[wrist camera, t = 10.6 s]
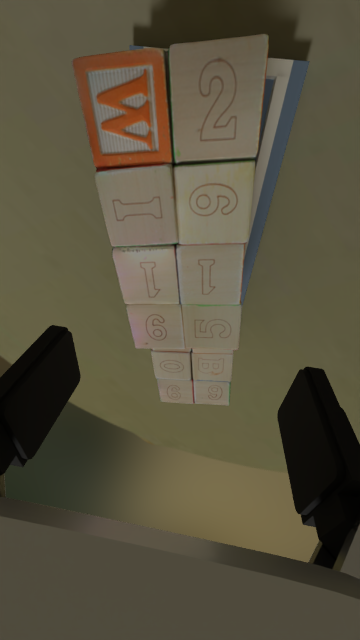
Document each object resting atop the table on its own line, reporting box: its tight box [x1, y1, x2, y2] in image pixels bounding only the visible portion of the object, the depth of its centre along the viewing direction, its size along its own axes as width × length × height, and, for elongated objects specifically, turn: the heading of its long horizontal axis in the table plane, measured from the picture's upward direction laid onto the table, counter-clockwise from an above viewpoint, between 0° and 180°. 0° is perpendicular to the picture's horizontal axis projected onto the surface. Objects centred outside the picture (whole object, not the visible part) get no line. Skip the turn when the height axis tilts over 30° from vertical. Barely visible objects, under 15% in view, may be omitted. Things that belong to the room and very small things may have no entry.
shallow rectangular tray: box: [130, 45, 310, 305], centre depth 24 cm, size 12×25×2 cm, turn 175°
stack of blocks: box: [72, 34, 269, 405], centre depth 18 cm, size 21×6×12 cm, turn 4°
